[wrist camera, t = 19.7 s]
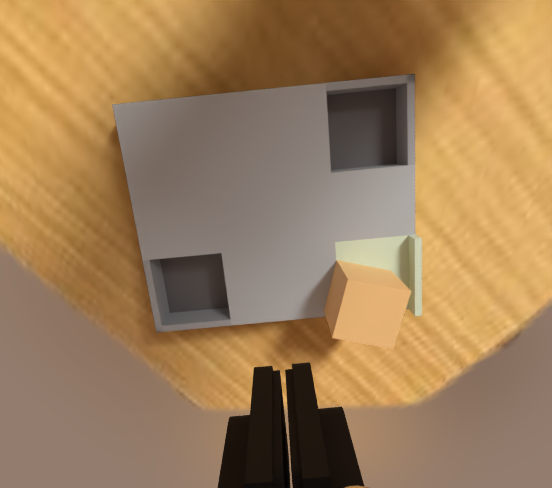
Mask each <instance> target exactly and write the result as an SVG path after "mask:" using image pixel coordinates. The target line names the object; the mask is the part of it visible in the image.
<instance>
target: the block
mask: <svg viewBox="0 0 552 488" xmlns="http://www.w3.org/2000/svg"><path fill="white" fill-rule="evenodd" d="M410 294H411V290H410V289H409V288H408V287H407V286H406V285H405V284H404V283H403V282H402V281H401V280H400V279H399V278H398V277H397V276H396V275H395V274H394V273H393V272H392V271H391V270H386V269H380V268H375V267H370V266H365V265H360V264H355V263H350V262H344V261H339V260H337V261H336V265H335V269H334V273H333V277H332V281H331V285H330V289H329V293H328V297H327V301H326V304H325V308H324V313H325V317H326V320H327V323H328V326H329V329H330V332H331V336H332V338H335V339H340V340H346V341H351V342H357V343H362V344H368V345H373V346H379V347H384V348H390V349H394V345H395V342H396V339H397V336H398V333H399V329H400V326H401V323H402V320H403V317H404V313H405V310H406V307H407V304H408V301H409V298H410Z"/></svg>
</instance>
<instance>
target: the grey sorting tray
mask: <svg viewBox="0 0 552 488" xmlns="http://www.w3.org/2000/svg"><path fill="white" fill-rule="evenodd" d="M112 106H113V111H114V116H115V121H116V126H117V132H118V137H119V142H120V147H121V152H122V157H123V163H124V168H125V173H126V178H127V183H128V188H129V194H130V199H131V204H132V209H133V214H134V219H135V224H136V230H137V235H138V240H139V245H140V250H141V255H142V261H143V266H144V271H145V276H146V281H147V286H148V292H149V297H150V302H151V307H152V312H153V317H154V323H155V328H156V332H167V331H178V330H189V329H199V328H210V327H221V326H232V325H243V324H253V323H264V322H275V321H286V320H297V319H307V318H318V317H325V313H324V308H325V304H326V301H327V297H328V293H329V289H330V285H331V281H332V277H333V273H334V269H335V265H336V261H337V260H339V261H344V262H350V263H355V264H360V265H365V266H370V267H375V268H380V269H386V270H391V271H392V272H393V273H394V274H395V275H396V276H397V277H398V278H399V279H400V280H401V281H402V282H403V283H404V284H405V285H406V286H407V287H408V288H409V289H410V290H411V294H410V298H409V301H408V304H407V307H406V309H409V310H410V311H411V312H412V313H413V315H414V316H422V238H420V237H418V236H417V235H415V74H408V75H398V76H388V77H378V78H369V79H359V80H349V81H339V82H329V83H319V84H309V85H299V86H290V87H280V88H270V89H260V90H250V91H240V92H230V93H221V94H211V95H201V96H191V97H181V98H171V99H161V100H152V101H142V102H132V103H122V104H112Z"/></svg>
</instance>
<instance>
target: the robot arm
mask: <svg viewBox="0 0 552 488" xmlns="http://www.w3.org/2000/svg"><path fill="white" fill-rule="evenodd" d="M285 372H286V389H287V405H288V422H289V439H290V455H291V471H292V484H293V488H368V487H364V484H363V480H362V477H361V473H360V469H359V466H358V462H357V458H356V454H355V451H354V447H353V443H352V440H351V436H350V433H349V429H348V425H347V422H346V418H345V414H344V411H343V408H342V407H334V408H323V409H318V405H317V399H316V394H315V388H314V382H313V377H312V371H311V365H310V363H299V364H292V369H288V370H285ZM218 488H290V473H289V455H288V443H287V434H286V424H285V415H284V405H283V396H282V386H281V377H280V370H277V371H273V367H272V366H266V367H255V368H254V374H253V386H252V398H251V410H250V415H244V416H234V417H230V418H229V422H228V427H227V433H226V439H225V446H224V452H223V459H222V465H221V470H220V476H219V483H218Z"/></svg>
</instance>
